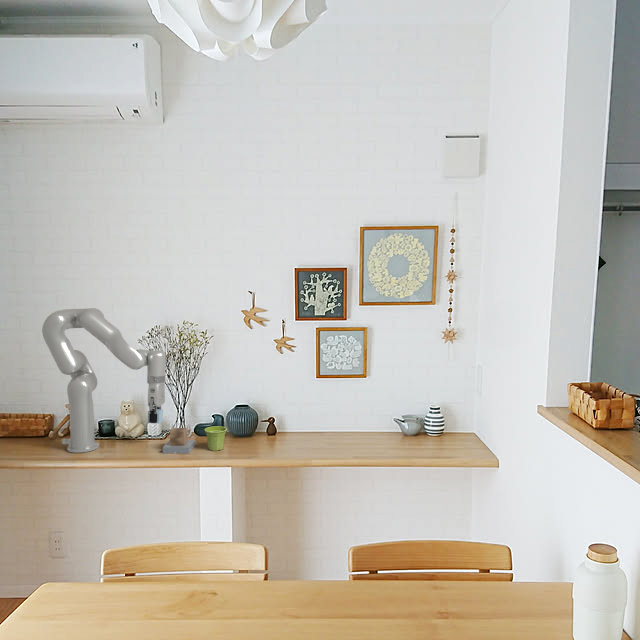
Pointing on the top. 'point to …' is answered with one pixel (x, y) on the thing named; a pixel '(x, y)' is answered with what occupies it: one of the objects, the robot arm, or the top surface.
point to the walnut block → (178, 436)
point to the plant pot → (215, 437)
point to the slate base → (179, 447)
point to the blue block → (159, 416)
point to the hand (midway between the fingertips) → (155, 420)
